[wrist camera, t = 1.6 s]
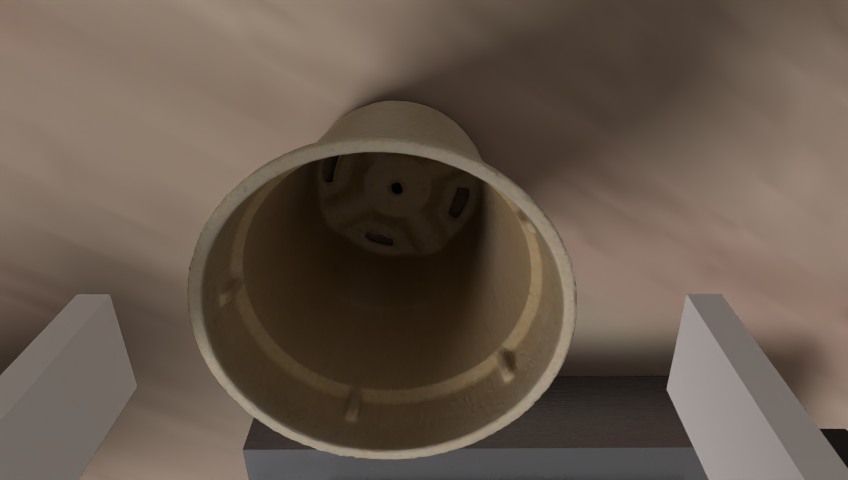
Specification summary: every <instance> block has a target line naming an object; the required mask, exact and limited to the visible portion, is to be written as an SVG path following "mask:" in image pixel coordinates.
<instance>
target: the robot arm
mask: <svg viewBox="0 0 848 480" xmlns="http://www.w3.org/2000/svg"><path fill="white" fill-rule="evenodd" d="M136 388H137V384H136V381H135V377H134V374H133V370H132V367H131V364H130V360H129V357H128V354H127V350H126V347H125V344H124V340H123V337H122V333H121V330H120V327H119V323H118V320H117V317H116V313H115V310H114V307H113V303H112V300H111V297H110V294H77V295H76V296H75V297H74V298H73V299H72V300H71V301H70V302H69V303H68V304H67V305H66V306H65V308H64V309H63V310H62V311H61V312H60V313H59V314H58V315H57V316H56V317H55V318H54V319H53V320H52V321H51V322H50V323H49V324H48V325H47V327H46V328H45V329H44V330H43V331H42V332H41V333H40V334H39V335H38V336H37V337H36V338H35V339H34V340H33V341H32V342H31V343H30V345H29V346H28V347H27V348H26V349H25V350H24V351H23V352H22V353H21V354H20V355H19V356H18V357H17V358H16V359H15V360H14V361H13V362H12V364H11V365H10V366H9V367H8V368H7V369H6V370H5V371H4V372H3V373H2V374H1V375H0V480H78V479H79V478H80V476H81V475H82V473H83V472H84V470H85V468H86V467H87V465H88V464H89V462H90V461H91V459H92V457H93V456H94V454H95V453H96V451H97V450H98V448H99V446H100V445H101V443H102V442H103V440H104V439H105V437H106V435H107V434H108V432H109V431H110V429H111V428H112V426H113V424H114V423H115V421H116V420H117V418H118V417H119V415H120V413H121V412H122V410H123V409H124V407H125V406H126V404H127V402H128V401H129V399H130V398H131V396H132V395H133V393H134V391H135V390H136ZM667 391H668V394H669V396H670V398H671V400H672V402H673V404H674V406H675V409H676V411H677V413H678V415H679V417H680V419H681V421H682V424H683V426H684V428H685V430H686V432H687V434H688V436H689V439H690V441H691V443H692V445H693V447H694V449H695V451H696V453H697V456H698V458H699V460H700V462H701V464H702V466H703V468H704V471H705V473H706V475H707V477H708V479H709V480H848V431H847V430H846V429H819V428H818V427H817V425H816V424H815V422H814V421H813V420H812V418H811V417H810V416H809V414H808V413H807V411H806V410H805V409H804V407H803V406H802V405H801V403H800V402H799V400H798V399H797V398H796V396H795V395H794V394H793V392H792V391H791V389H790V388H789V387H788V385H787V384H786V382H785V381H784V380H783V378H782V377H781V376H780V374H779V373H778V371H777V370H776V369H775V367H774V366H773V365H772V363H771V362H770V360H769V359H768V358H767V356H766V355H765V354H764V352H763V351H762V349H761V348H760V347H759V345H758V344H757V343H756V341H755V340H754V338H753V337H752V336H751V334H750V333H749V331H748V330H747V329H746V327H745V326H744V325H743V323H742V322H741V320H740V319H739V318H738V316H737V315H736V314H735V312H734V311H733V309H732V308H731V307H730V305H729V304H728V303H727V301H726V300H725V298H724V297H723V296H722V294H687V295H686V300H685V305H684V309H683V314H682V319H681V323H680V328H679V333H678V337H677V342H676V347H675V352H674V356H673V361H672V366H671V370H670V375H669V380H668V384H667Z"/></svg>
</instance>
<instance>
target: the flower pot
mask: <svg viewBox="0 0 848 480" xmlns="http://www.w3.org/2000/svg"><path fill="white" fill-rule="evenodd" d="M337 155H339V157H338V160H337V163H336V167H335V171H334V175H333V181H332V182H327V181H325V180H324V176H323V165H324V163H325V158H328V157H333V156H337ZM394 183H399V184H401V187H402V189H403V191H402V192H401V193H399V194H395V193H394V192H393V191H392V189H391V186H392V185H393V184H394ZM457 188H465V189H467V190H468V192H469V198H468V200H467V202H466V204H465V205H464V207H463V208H462V211H461V213H460V214H459V215H458V216H457V217H453V216H451V215H450V214H449V210H450V208H451V205H452V202H453V200H454V198H455V195H456V193H457ZM367 232H370V233H373V234H378V235H379V234H380V233H383V234H382V235H383V236H385V237H388V238H390V239H392V241H393V245H389V244H383V243H379V242H374V241H372V240H370V239H368V238H367V237H366V233H367ZM189 270H190V273H189V278H188V306H189V315H190V320H191V325H192V328H193V333H194V336H195V339H196V342H197V344H198V347H199V350H200V351H201V354H202V356H203V357H204V359H205V361H206V363H207V365H208V366H209V369H210V370H211V372H212V373H213V375H214V376H215V377H216V379H217V380H218V381H219V382H220V384H221V385H222V386H223V388H224V389H225V390H226V391H227V392H228V394H229V395H230V396H231V397H232V398H234V399H235V400H236V401H237V402H238V403H239V404H240V405H241V406H242V407H243V408H244V409H245V410H246V411H247V412H248V413H250V415H251V416H253V417H255V418H256V419H258V420H259V421H260V422H262V423H264V424H265V425H266V426H268V427H270V428H271V429H272V430H274V431H276V432H279V433H280V434H282V435H284V436H285V437H288V438H290V439H291V440H295V441H298V442H300V443H302V444H303V445H308V446H311V447H313V448H315V449H317V450H320V451H326V452H330V453H332V454H337V455H339V456H344V455H345V456H347V457H348V456H354V457H356V458H360V457H361V458H368V459H410V458H413V459H415V458H417V457H426V456H432V455H436V454H440V453H446V452H448V451H451V450H454V449H459V448H462V447H465V446H468V445H470V444H473V443H475V442H477V441H479V440H482V439H484V438H485V437H487V436H489V435H491V434H494V433H495V432H496V431H498V430H500V429H502V428H503V427H505V426H507V425H508V424H510V423H511V422H512V421H514V420H515V419H517V418H519V417H520V416H521V415H522V414H523V413H524V412H525V411H527V410H528V409H529V408H530V407H531V406H533V404H534V403H535V401H537V400H538V399H539V398H540V397H541V395H542V394H543V393H544V392H545V391H546V390H547V389H548V388H549V386H550V385H551V383H552V382H553V380H554V378H555V377H556V375H557V374H558V372H559V370H560V368H561V367H562V365H563V363H564V361H565V358H566V355H567V352H568V351H569V347H570V345H571V342H572V339H573V334H574V329H575V324H576V317H577V294H576V281H575V276H574V272H573V269H572V264H571V260H570V258H569V255H568V253H567V250H566V248H565V246H564V244H563V241H562V239H561V238H560V236H559V234H558V232H557V230H556V229H555V227H554V226H553V224H552V222H551V221H550V219H549V218H548V217H547V216H546V214H545V213H544V212H543V210H542V209H541V208H540V207H539V206H538V205H537V204H536V203H535V202H534V200H533V199H532V198H531V197H530V196H529V195H528V194H527V193H526V192H525V191H524V190H523V189H522V188H521V187H519V186H518V185H517V184H516V183H515V182H514V181H512V180H511V179H509V178H508V177H507V176H505V175H504V174H503V173H501V172H500V171H498V170H497V169H495V168H494V167H492V166H490V165H488V164H486V163H485V162H483V160H482V159H481V157H480V154H479V152H478V150H477V148H476V146H475V145H474V143H473V142H472V141H471V139H470V138H469V137H468V135H467V134H466V133H465V132H464V131H463V129H462V128H461V127H460V126H459V125H458V124H456V123H455V122H454V121H453V120H452V119H450V118H449V117H447V116H446V115H444V114H443V113H441V112H439V111H437V110H435V109H433V108H430V107H428V106H425V105H422V104H418V103H413V102H407V101H382V102H376V103H373V104H370V105H367V106H364V107H361V108H359V109H356V110H354V111H352V112H350V113H349V114H347V115H345V116H344V117H342V118H341V119H340V120H338V121H337V122H336V123H335V124H334V125H332V126H331V128H330V129H329V130H328V131H327V132H326V133H325V134H324V135H323V136H322V137H321V138H320V139H319V140H318V141H317V142H316V143H313V144H309V145H306V146H303V147H300V148H298V149H295V150H293V151H290V152H288V153H286V154H283V155H282V156H280V157H278V158H276V159H274V160H272V161H270V162H268V163H267V164H265V165H264V166H262V167H261V168H259V169H257V170H256V171H255V172H253V173H252V174H251V175H249V176H248V177H247V178H246V179H244V180H243V181H242V182H241V183H240V184H239V185H238V186H237V187H235V188H234V189H233V190H232V191H231V192H230V193H229V194H228V195H227V196H226V197H225V198H224V199H223V201H222V202H221V203H220V204H219V206H218V207H217V208H216V209H215V211H214V212H213V214H212V215H211V217H210V218H209V220H208V221H207V223H206V225H205V227H204V228H203V230H202V232H201V234H200V237H199V239H198V241H197V244H196V248H195V250H194V255H193V258H192V261H191V263H190V267H189Z"/></svg>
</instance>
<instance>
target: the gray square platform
mask: <svg viewBox="0 0 848 480" xmlns="http://www.w3.org/2000/svg"><path fill="white" fill-rule="evenodd" d="M668 380H669V376H643V377H555V378H554V380H553V382H552V383H551V385H550V386H549V388H548V389H547V390H546V391H545V392H544V393H543V394H542V395H541V397H540V398H539V399H538V400H537V401H535V403H534V404H533V406H531V407H530V408H529V409H528V410H527V411H525V412H524V413H523V414H522V415H521V416H520V417H519V418H517V419H515V420H514V421H512V422H511V423H510V424H508V425H507V426H505V427H503V428H502V429H500V430H498V431H496V432H495V433H494V434H491V435H489V436H487V437H485V438H484V439H482V440H479V441H477V442H475V443H473V444H470V445H468V446H465V447H462V448H459V449H454V450H451V451H448V452H446V453H440V454H436V455H432V456H426V457H417V458H415V459H413V458H410V459H368V458H361V457H360V458H356V457H354V456H348V457H347V456H345V455H344V456H339V455H337V454H332V453H330V452H326V451H320V450H317V449H315V448H313V447H311V446H308V445H303V444H302V443H300V442H298V441H295V440H291V439H290V438H288V437H285V436H284V435H282V434H280V433H279V432H276V431H274V430H272V429H271V428H270V427H268V426H266V425H265V424H264V423H262V422H260V421H259V420H258V419H256V418H255V417H254V419H253V422H252V425H251V428H250V430H249V433H248V436H247V439H246V442H245V445H244V448H243V453H244V458H245V463H246V468H247V472H248V477H249V480H709V479H708V477H707V475H706V473H705V471H704V468H703V466H702V464H701V462H700V460H699V458H698V456H697V453H696V451H695V449H694V447H693V445H692V443H691V441H690V439H689V436H688V434H687V432H686V430H685V428H684V426H683V424H682V421H681V419H680V417H679V415H678V413H677V411H676V409H675V406H674V404H673V402H672V400H671V398H670V396H669V394H668V391H667V384H668Z"/></svg>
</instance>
